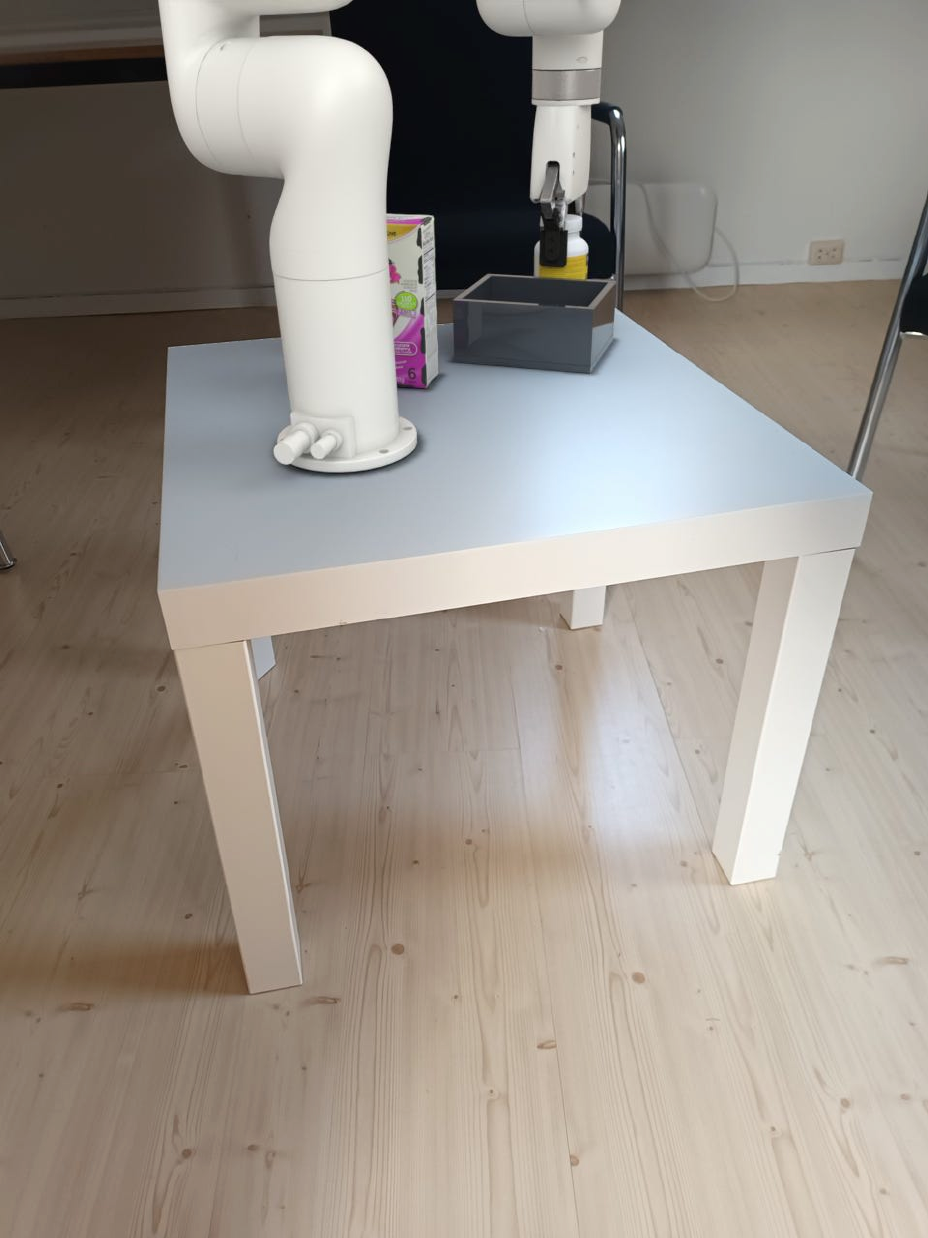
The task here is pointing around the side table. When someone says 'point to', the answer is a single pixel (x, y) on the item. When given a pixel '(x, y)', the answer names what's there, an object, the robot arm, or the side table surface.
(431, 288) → the candy bar box
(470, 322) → the open box
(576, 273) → the pill bottle
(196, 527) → the side table surface
